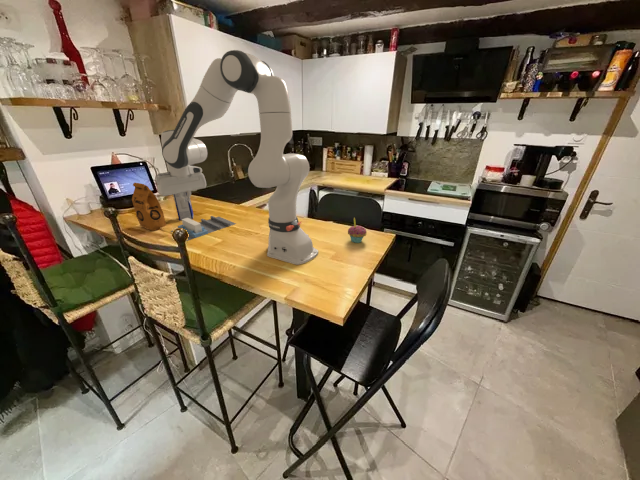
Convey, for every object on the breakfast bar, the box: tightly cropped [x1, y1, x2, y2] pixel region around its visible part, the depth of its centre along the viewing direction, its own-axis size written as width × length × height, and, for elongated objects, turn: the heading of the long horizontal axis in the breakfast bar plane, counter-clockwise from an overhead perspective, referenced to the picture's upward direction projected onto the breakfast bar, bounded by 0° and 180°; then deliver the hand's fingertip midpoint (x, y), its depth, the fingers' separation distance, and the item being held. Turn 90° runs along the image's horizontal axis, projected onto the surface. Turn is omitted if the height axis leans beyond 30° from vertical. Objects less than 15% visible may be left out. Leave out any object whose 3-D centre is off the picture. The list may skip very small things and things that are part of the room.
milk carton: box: [172, 192, 194, 221], centre depth 137 cm, size 7×7×20 cm
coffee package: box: [131, 182, 167, 232], centre depth 127 cm, size 10×12×22 cm
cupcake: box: [347, 217, 367, 244], centre depth 118 cm, size 9×8×12 cm
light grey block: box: [181, 218, 202, 234], centre depth 124 cm, size 12×3×5 cm, turn 52°
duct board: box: [170, 215, 237, 242], centre depth 129 cm, size 16×26×3 cm, turn 142°
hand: (186, 201), depth 118 cm, fingers closed
